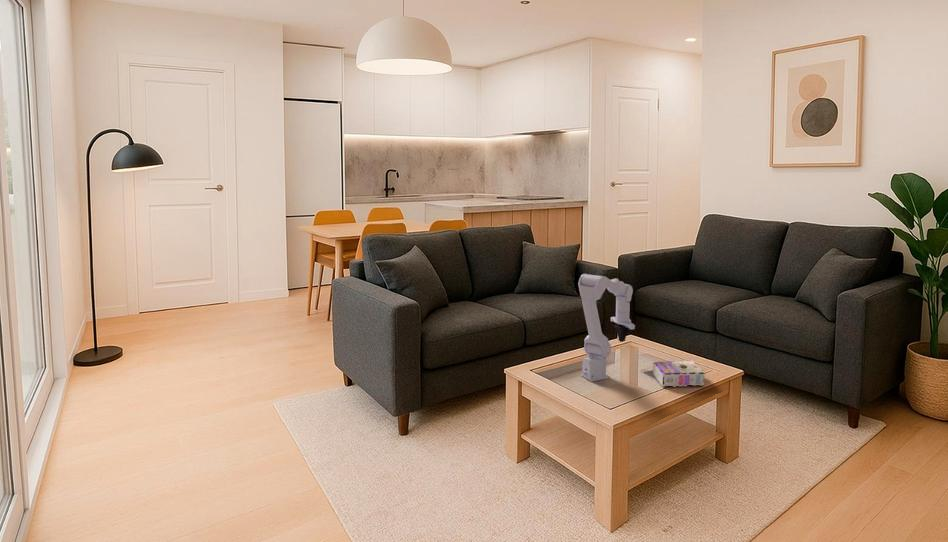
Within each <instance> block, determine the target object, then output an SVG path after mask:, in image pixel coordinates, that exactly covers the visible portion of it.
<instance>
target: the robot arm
mask: <svg viewBox="0 0 948 542" xmlns="http://www.w3.org/2000/svg"><path fill="white" fill-rule="evenodd" d="M577 285H578V290H579V295H580V297H581V304H582V309H583V314H584V319H585V323H586V329H587V333H588V335H586V337H585V338H584V340H583V341H584V345H583V346H584V347H583V350H584V351H585V353H586V356H587V357H584V358H583V359H582V360H581V374H580V376H581V377H583V378H584V379H586V380H588V381H589V382H596V381H601V380H607V379H610V378H611V376H610V375H608V374H607V358H608V357H609V356H610V354H611V353H612V345H611V343H610V342H609V338H608V337H607V336H605V335H604V333H603V332H602V327H601V320H600V316H599V311H598V306H597V301H598V300H601V298H602V296H603V294H604V292H605V291H606V289H607V291H608V292H609V293H611V294H613V296H615V316H611V317H610V322H614V323H615V325H613V327H614V329H615V331H616V334H617V338H618V341H619V342H620V343H623V342H626V338H627V336H628V335H627V334H628V333H629V331H630V330H635V329H636V325H635V324H634V323H632V320H631V319H630V309H631V307H630V304H631V301H632V295H633V292H634V290H633V286H632V285H631V284H627V283H624V281H622V280H619V278H613V279H610V278H608V277H607V276H603V275H597V274H596V275H594V274H588V273H583V274H581V275H580V277H579V279H578V283H577Z"/></svg>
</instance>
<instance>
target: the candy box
mask: <svg viewBox="0 0 948 542" xmlns="http://www.w3.org/2000/svg"><path fill="white" fill-rule="evenodd" d="M652 366H653V367H652V370H653V375H654V376H655V377H656V380H657V381H658V383H659V384H660V385H661V387H663V388H665V387H666V388H667V387H668V386H679V387H688V386H687V385H704V386H705V381H704V380H705V374H706V373H705V372H704V371H703V370H702V369H701V368H700V367H699V366H698V365H697V364H696V363H695V362H694V360H675V361H674V360H673V361H654V362H653V363H652ZM668 388H669V387H668Z"/></svg>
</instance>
